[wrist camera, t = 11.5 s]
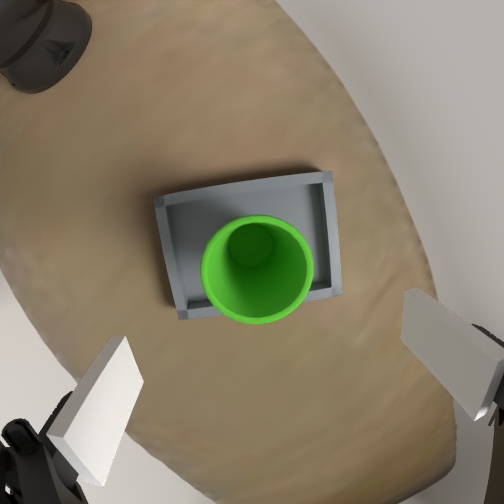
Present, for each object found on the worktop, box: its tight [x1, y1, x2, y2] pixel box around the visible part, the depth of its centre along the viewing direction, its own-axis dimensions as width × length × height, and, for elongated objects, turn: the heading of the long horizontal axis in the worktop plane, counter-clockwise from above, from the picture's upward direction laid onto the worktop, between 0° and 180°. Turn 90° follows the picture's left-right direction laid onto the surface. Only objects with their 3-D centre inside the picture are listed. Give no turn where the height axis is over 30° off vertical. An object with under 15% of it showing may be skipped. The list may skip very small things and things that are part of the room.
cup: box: [200, 214, 314, 324], centre depth 28 cm, size 9×9×11 cm
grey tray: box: [153, 171, 342, 320], centre depth 33 cm, size 14×19×3 cm
